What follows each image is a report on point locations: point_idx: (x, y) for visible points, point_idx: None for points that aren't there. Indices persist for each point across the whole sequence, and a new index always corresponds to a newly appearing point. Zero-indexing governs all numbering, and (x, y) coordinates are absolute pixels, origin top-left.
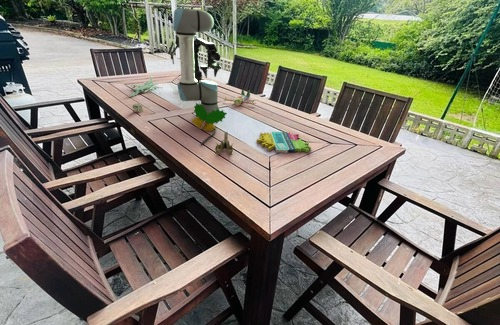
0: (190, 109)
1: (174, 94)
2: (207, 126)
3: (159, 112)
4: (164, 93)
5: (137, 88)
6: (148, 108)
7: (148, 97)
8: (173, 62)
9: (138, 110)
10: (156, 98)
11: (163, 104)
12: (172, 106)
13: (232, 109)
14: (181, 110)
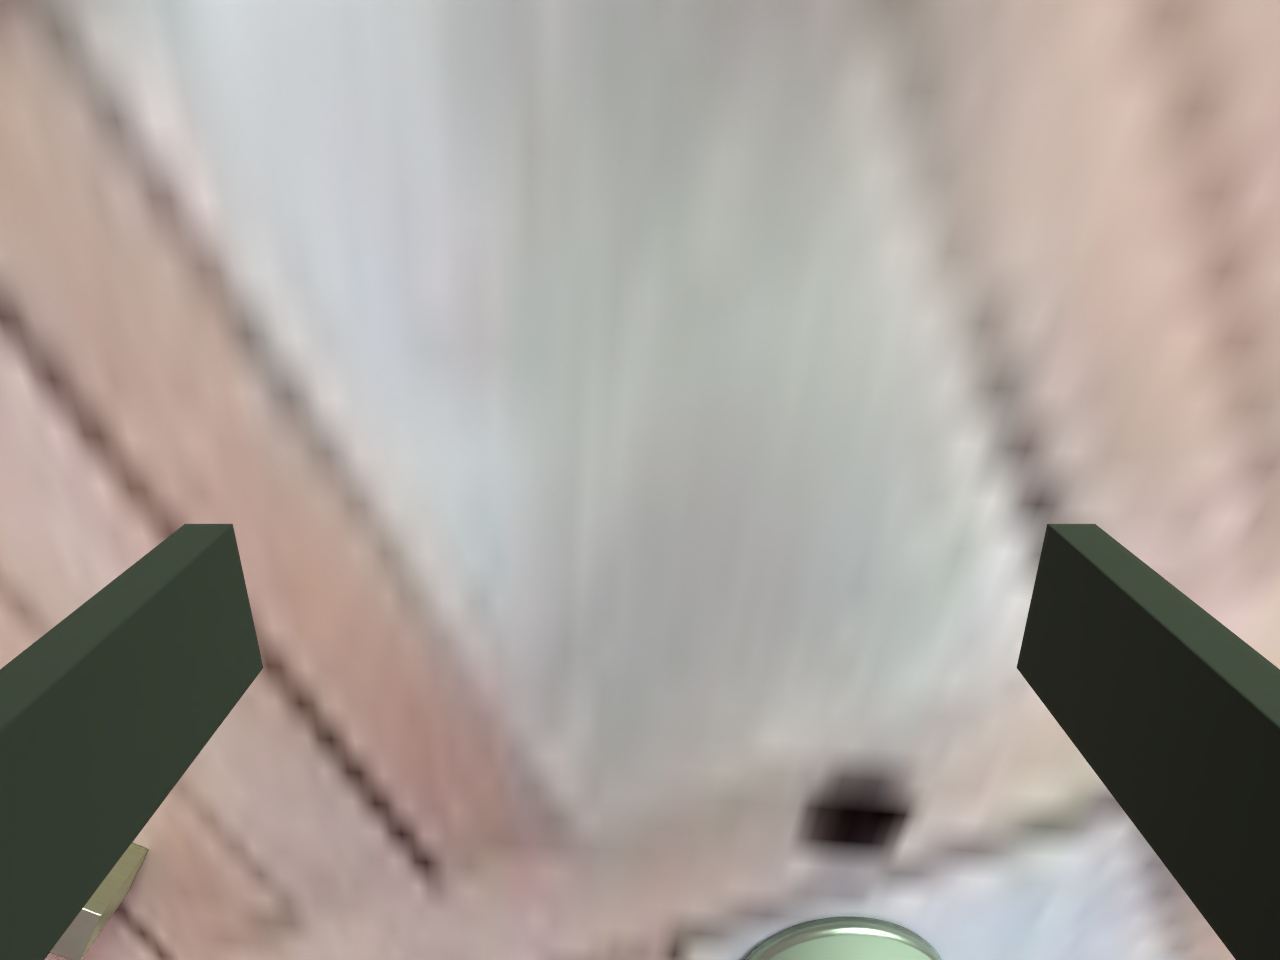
0: (668, 850)
1: (470, 127)
2: None
3: (335, 900)
4: (267, 29)
5: None
6: (189, 784)
7: (42, 308)
8: (215, 713)
9: (111, 915)
10: (188, 378)
11: (341, 664)
12: (461, 743)
13: (1146, 888)
14: (565, 869)
